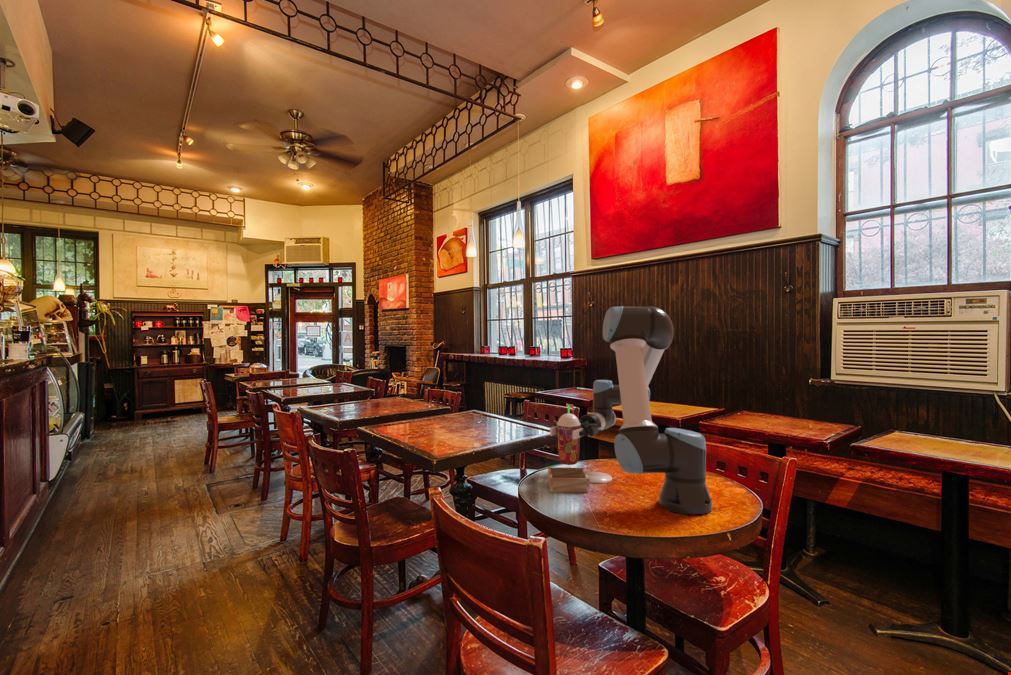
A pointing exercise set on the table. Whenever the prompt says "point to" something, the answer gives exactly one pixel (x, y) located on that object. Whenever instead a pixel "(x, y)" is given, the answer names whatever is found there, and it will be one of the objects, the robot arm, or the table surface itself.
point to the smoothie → (568, 438)
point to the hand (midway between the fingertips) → (562, 433)
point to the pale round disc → (599, 477)
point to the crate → (568, 480)
